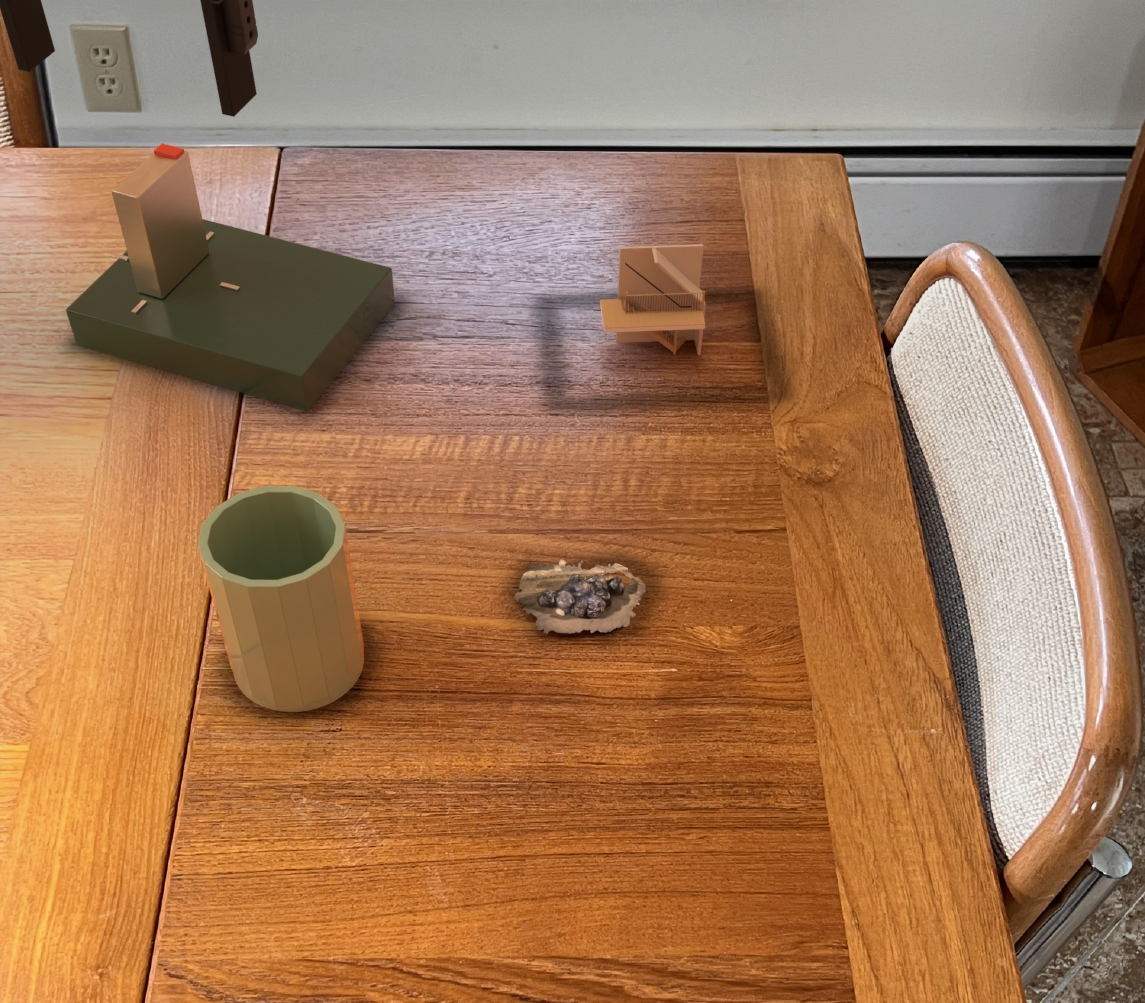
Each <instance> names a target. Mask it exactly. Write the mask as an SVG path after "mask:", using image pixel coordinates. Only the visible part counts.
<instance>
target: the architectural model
mask: <svg viewBox="0 0 1145 1003" xmlns="http://www.w3.org/2000/svg"><path fill="white" fill-rule="evenodd" d="M703 255H704V243H699V244H698V243H697V244H694V243H693V244H669V245H642V246H640V245H638V246H620V247H619V264H618V287H617V298H612V299H609V298H608V299H600V300H599V302H600V303H599V306H600V314H601V319H602V327H603V332H604V333H615V335H616V336H615V344H625V343H652V342H653V343H655V342H658V343H660V344H661V345H662V346H664V347H665V348H667V349H668V350H669V351H671V352H672V353H673V356H676V354H677V351H678V350H679V349H680V347H681V346H683V344H684V343H686V341H694V345H695V349H696V353H697V356H701V355H702V348H703V346H702V344H703V337H704V330H705V329H706V322H705V316H706V308H707V307H706V306H707V305H706V301H705V300H706V299H705V297H706V291H705V290H702V289H701V287H700V286H701V278H702V277H701V275H702V266H703V257H704V256H703Z"/></svg>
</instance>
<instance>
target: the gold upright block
mask: <svg viewBox="0 0 1145 1003" xmlns="http://www.w3.org/2000/svg"><path fill="white" fill-rule="evenodd" d="M189 154H190V153H189V151H187V150H185V148H183V147H179V146H174V145H170V144H166V143H162V142H161V143H160V144H159V145H158V146H157V147H156V148H155V149H154V150H153V153H152V154H151V155H149V156H148V157H147V158H146V159H145V160H144V161H143V162H142V163H141V164H139V165H138V166H136V168H135V169H134V170H132V171H131V172H130V173H129V174H128V175H127V176H126V177H125V178H123V179H122V180H121V181H120V182H118V184H117V185H115V187H113V188H112V189H111V196H112V199H113V203H114V207H115V211H116V214H117V218H118V223H119V226H120V230H121V233H122V236H123V241H124V244H125V248H126V251H127V253H128V256H129V260H130V264H131V268H132V271H133V275H134V279H135V283H136V287H137V290H138V292H140V293H143V294H147V295H150V296H154V297H157V298H161V299H163V298H164V297H165V296H166V295H167V294H168V293H169V292H170V291H171V290H172V289H173V288H174V287H175V286H176V285H177V284H178V283H179V282H180V281H181V280H182V279H183V278H184V277H185V276H186V275H187V274H188V273H189V272H190V271H191V270H192V269H193V268H194V267H195V266H196V265H197V264H198V263H199V262H200V261H201V260H202V259H203V258H204V257H205V256H206V255H207V254H208V253H209V248H208V243H207V239H206V234H205V229H204V224H203V220H202V219H203V216H202V211H201V207H200V200H199V196H198V192H197V187H196V182H195V178H194V173H193V169H192V168H193V167H192V164H191V159H190V155H189Z"/></svg>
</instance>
